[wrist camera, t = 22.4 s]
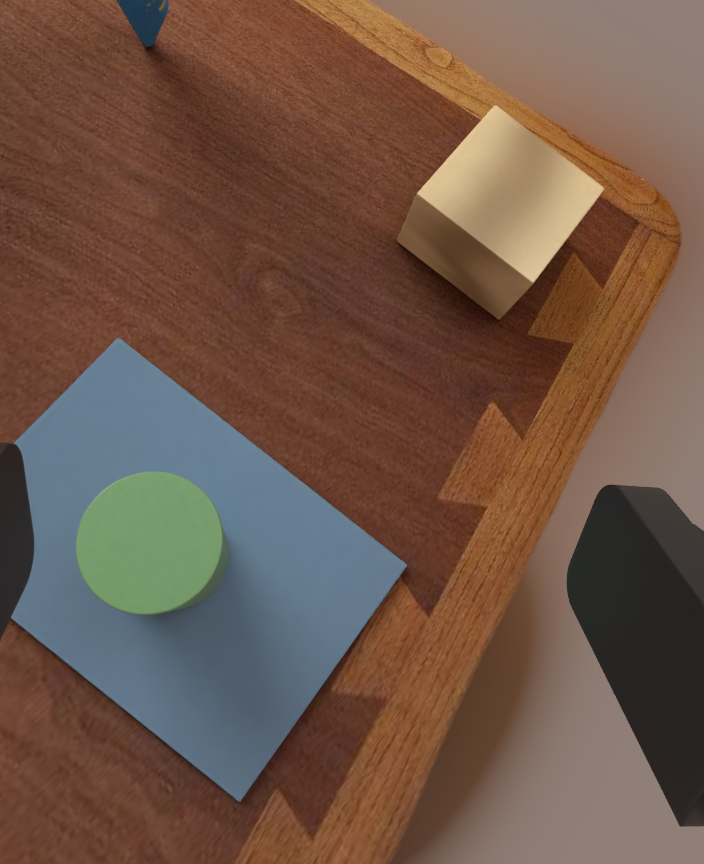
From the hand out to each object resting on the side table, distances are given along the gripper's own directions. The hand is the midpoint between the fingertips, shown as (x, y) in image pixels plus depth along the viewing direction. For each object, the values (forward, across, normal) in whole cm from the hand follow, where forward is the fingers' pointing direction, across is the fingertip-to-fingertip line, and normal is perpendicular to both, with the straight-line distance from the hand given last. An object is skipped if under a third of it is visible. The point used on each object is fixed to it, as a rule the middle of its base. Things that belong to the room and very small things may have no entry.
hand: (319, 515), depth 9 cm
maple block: (+34, -12, +4) cm, 36 cm away
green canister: (+19, +5, +18) cm, 26 cm away
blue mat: (+19, +5, +18) cm, 27 cm away
